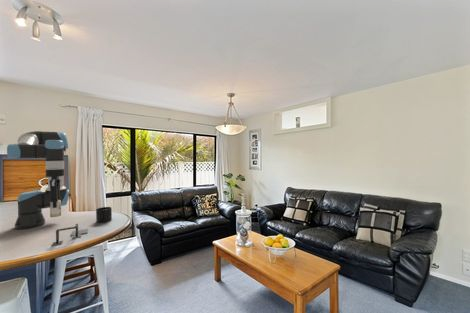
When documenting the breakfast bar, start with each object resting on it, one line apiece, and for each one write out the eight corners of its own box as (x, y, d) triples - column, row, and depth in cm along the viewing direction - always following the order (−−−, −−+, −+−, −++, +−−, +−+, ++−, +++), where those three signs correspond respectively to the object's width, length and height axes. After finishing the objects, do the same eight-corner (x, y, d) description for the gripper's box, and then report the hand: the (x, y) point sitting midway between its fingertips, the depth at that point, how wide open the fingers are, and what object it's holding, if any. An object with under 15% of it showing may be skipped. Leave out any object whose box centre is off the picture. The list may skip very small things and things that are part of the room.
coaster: (72, 232, 130) (72, 231, 130) (87, 229, 134) (87, 228, 134) (70, 236, 123) (70, 235, 123) (87, 233, 127) (87, 232, 127)
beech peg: (51, 215, 113) (50, 200, 113) (61, 214, 115) (61, 199, 115) (49, 217, 109) (49, 202, 109) (60, 216, 112) (60, 201, 112)
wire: (55, 239, 118) (54, 225, 118) (81, 235, 125) (81, 221, 125) (52, 246, 110) (51, 231, 110) (80, 240, 117) (80, 226, 117)
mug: (93, 224, 143) (93, 211, 143) (98, 219, 155) (97, 207, 155) (109, 223, 147) (109, 210, 147) (112, 218, 158) (112, 206, 158)
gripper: (48, 168, 117) (49, 210, 117) (41, 170, 103) (42, 217, 103) (66, 168, 121) (66, 208, 121) (61, 169, 107) (62, 215, 107)
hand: (55, 212), depth 112 cm, fingers closed on beech peg, 4 cm apart
